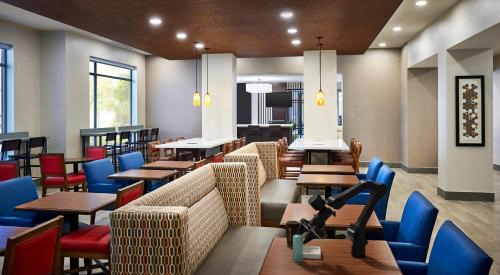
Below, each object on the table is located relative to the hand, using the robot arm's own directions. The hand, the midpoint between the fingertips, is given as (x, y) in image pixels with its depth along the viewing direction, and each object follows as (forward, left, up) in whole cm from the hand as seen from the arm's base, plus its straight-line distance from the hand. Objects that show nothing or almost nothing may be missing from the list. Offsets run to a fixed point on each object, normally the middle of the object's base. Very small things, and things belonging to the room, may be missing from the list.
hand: (299, 240), depth 194 cm
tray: (-4, -10, -10) cm, 14 cm away
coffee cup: (+4, -22, -10) cm, 24 cm away
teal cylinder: (+1, 0, -10) cm, 10 cm away
